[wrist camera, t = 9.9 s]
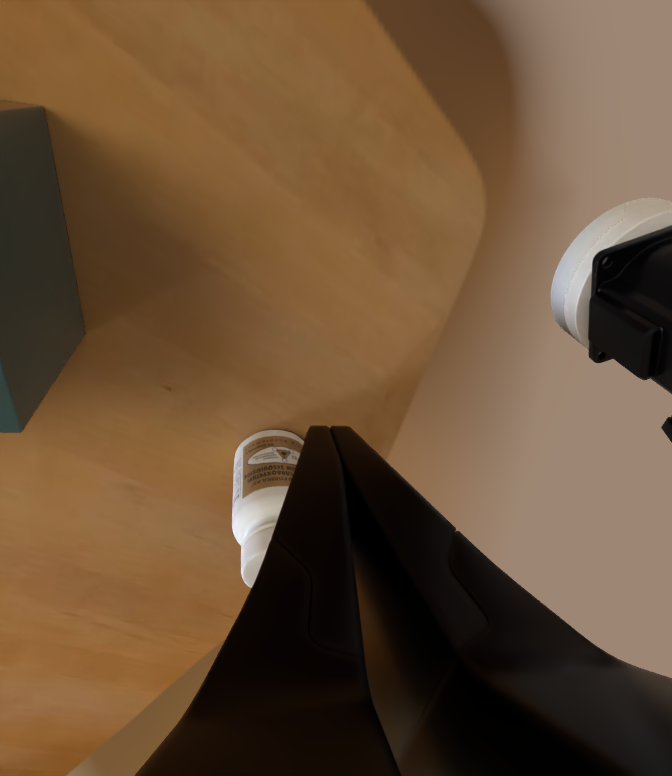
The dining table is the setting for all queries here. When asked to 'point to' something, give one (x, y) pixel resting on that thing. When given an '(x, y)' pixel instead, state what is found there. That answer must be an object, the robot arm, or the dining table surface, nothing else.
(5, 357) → the teal push button box
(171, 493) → the dining table surface
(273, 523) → the pill bottle
